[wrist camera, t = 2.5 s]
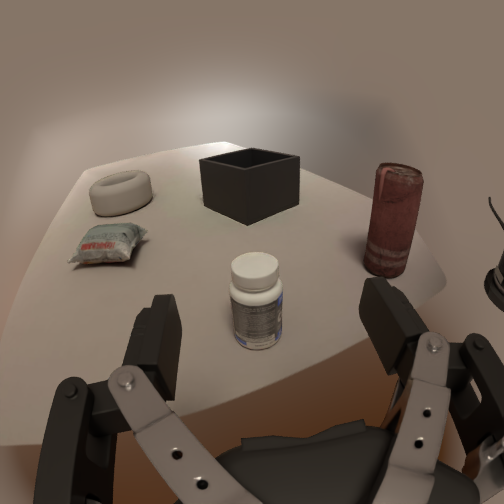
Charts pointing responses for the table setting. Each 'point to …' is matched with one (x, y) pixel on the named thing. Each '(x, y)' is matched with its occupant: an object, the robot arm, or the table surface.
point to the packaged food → (108, 243)
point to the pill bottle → (256, 300)
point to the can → (393, 218)
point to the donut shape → (120, 193)
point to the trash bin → (250, 183)
